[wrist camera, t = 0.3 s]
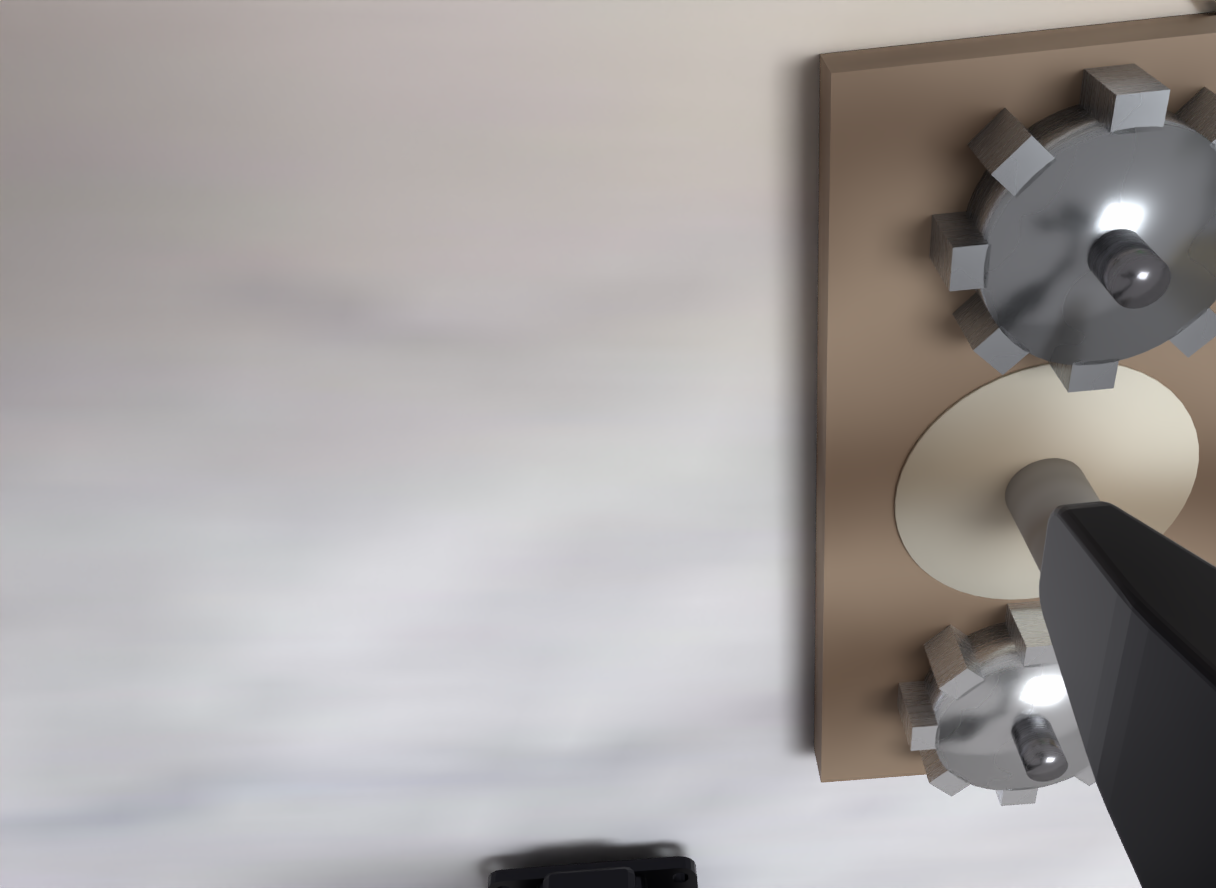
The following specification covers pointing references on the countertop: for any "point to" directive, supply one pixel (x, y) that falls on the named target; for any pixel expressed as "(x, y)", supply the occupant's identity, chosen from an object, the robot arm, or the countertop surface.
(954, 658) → the gear
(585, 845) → the countertop surface
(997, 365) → the gear
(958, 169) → the gear board
